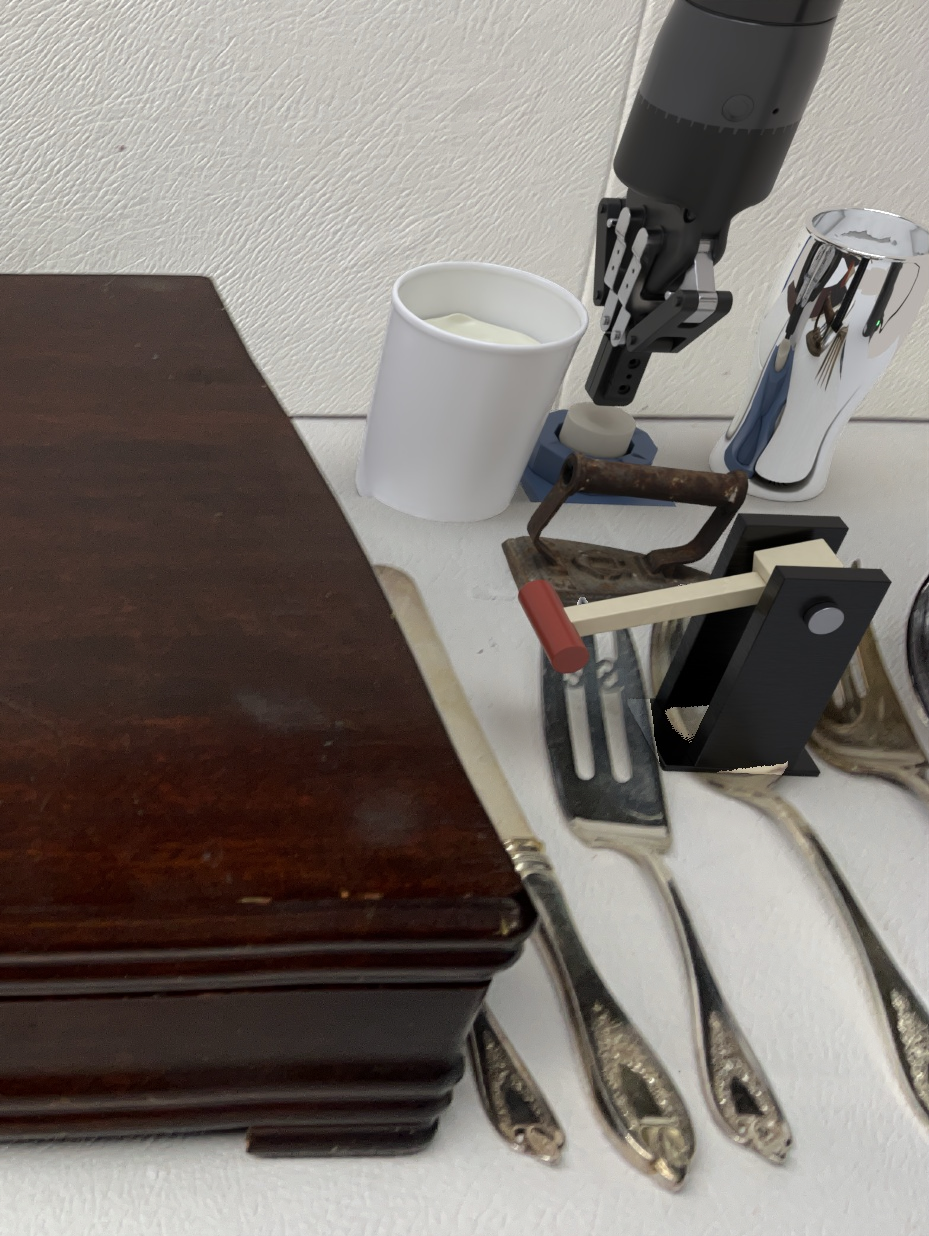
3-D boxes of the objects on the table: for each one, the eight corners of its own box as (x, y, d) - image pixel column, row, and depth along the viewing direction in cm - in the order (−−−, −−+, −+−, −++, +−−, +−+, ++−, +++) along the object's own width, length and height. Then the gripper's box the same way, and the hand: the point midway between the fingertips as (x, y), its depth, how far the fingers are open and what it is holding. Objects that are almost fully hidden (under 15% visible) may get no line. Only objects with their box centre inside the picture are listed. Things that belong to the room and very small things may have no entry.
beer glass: (800, 521, 99) (918, 272, 89) (677, 471, 103) (778, 228, 93) (852, 477, 102) (971, 233, 93) (732, 430, 106) (834, 192, 97)
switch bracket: (659, 792, 82) (758, 584, 74) (615, 709, 86) (703, 505, 79) (815, 798, 81) (930, 590, 74) (762, 714, 86) (864, 510, 78)
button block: (489, 428, 106) (501, 392, 105) (616, 432, 106) (630, 396, 105) (541, 521, 99) (555, 483, 97) (678, 526, 98) (695, 488, 97)
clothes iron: (472, 559, 97) (568, 397, 91) (665, 614, 97) (772, 456, 92) (509, 626, 91) (614, 457, 85) (713, 684, 92) (830, 520, 86)
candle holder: (522, 557, 96) (594, 359, 88) (335, 523, 99) (389, 328, 91) (519, 465, 103) (585, 275, 96) (344, 436, 106) (395, 249, 98)
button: (550, 427, 103) (559, 400, 101) (613, 428, 102) (623, 402, 101) (570, 460, 100) (580, 433, 99) (635, 462, 100) (646, 435, 99)
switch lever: (551, 684, 79) (551, 642, 77) (517, 616, 82) (517, 575, 81) (854, 629, 76) (860, 585, 74) (805, 562, 80) (809, 519, 78)
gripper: (859, 148, 83) (720, 465, 94) (745, 48, 93) (632, 344, 104) (696, 144, 83) (577, 460, 94) (600, 45, 93) (502, 340, 104)
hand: (606, 398), depth 99 cm, fingers closed
